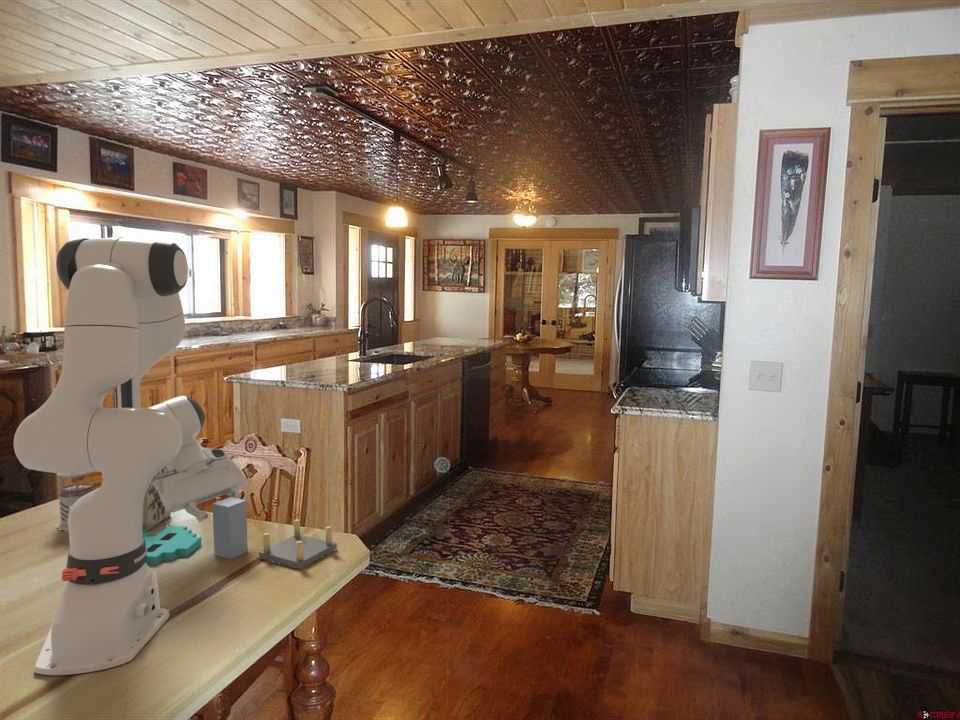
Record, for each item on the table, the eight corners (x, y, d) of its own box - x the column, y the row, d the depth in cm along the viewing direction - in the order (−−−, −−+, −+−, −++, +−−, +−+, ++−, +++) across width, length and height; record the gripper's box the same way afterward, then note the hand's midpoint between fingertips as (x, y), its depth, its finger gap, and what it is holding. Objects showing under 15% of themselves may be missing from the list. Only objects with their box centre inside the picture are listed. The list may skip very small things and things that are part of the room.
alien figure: (80, 569, 134) (172, 571, 134) (80, 559, 134) (172, 561, 134) (133, 534, 154) (214, 535, 154) (133, 525, 154) (213, 526, 153)
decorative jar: (147, 532, 154) (143, 461, 152) (101, 531, 155) (97, 460, 153) (172, 515, 166) (169, 448, 164) (129, 514, 167) (126, 448, 165)
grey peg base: (336, 549, 145) (336, 526, 144) (300, 569, 134) (299, 544, 133) (297, 540, 150) (296, 517, 149) (259, 558, 139) (258, 534, 139)
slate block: (230, 559, 139) (228, 506, 138) (214, 554, 141) (212, 503, 140) (247, 551, 143) (246, 500, 142) (232, 546, 146) (230, 497, 144)
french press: (67, 534, 153) (60, 433, 150) (45, 524, 159) (38, 427, 156) (109, 522, 161) (103, 426, 158) (86, 513, 167) (81, 421, 164)
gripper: (155, 468, 135) (188, 519, 132) (230, 448, 154) (261, 492, 150) (143, 485, 138) (175, 536, 135) (218, 463, 156) (248, 507, 153)
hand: (221, 512), depth 143 cm, fingers open, 8 cm apart
